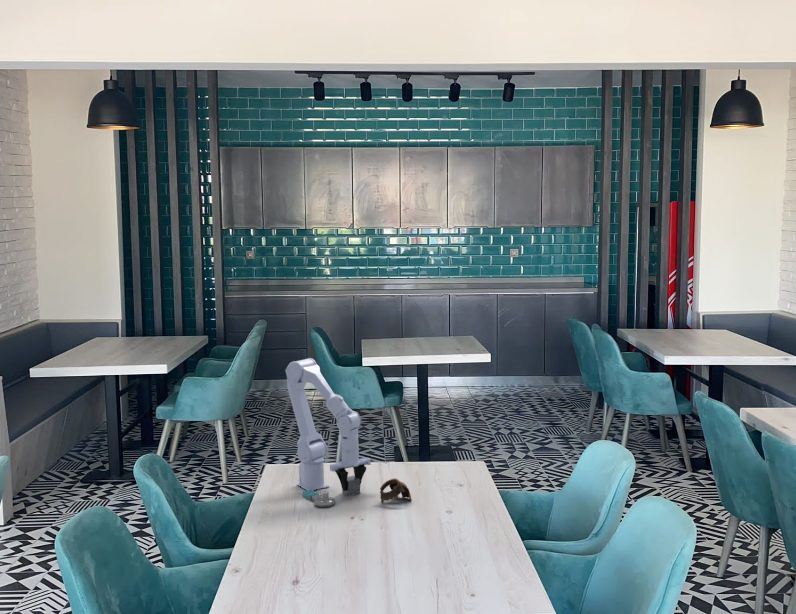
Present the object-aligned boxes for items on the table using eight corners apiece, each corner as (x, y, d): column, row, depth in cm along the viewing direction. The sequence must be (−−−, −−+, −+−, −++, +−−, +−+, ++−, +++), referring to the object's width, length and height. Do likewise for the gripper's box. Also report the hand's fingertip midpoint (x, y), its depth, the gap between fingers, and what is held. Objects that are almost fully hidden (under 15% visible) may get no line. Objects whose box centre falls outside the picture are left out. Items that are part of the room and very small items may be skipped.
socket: (342, 492, 281) (341, 477, 281) (353, 490, 284) (353, 475, 283) (348, 495, 278) (348, 480, 277) (360, 493, 280) (359, 478, 280)
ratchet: (298, 496, 278) (297, 484, 278) (315, 493, 281) (315, 481, 281) (320, 509, 264) (319, 496, 264) (338, 505, 268) (337, 493, 267)
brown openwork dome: (415, 505, 267) (404, 486, 264) (389, 519, 267) (377, 500, 264) (410, 486, 278) (399, 467, 275) (385, 499, 279) (373, 480, 276)
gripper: (336, 454, 272) (337, 495, 273) (374, 447, 280) (375, 487, 281) (326, 450, 278) (327, 490, 279) (364, 443, 286) (365, 482, 287)
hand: (351, 488), depth 280 cm, fingers closed on socket, 4 cm apart
